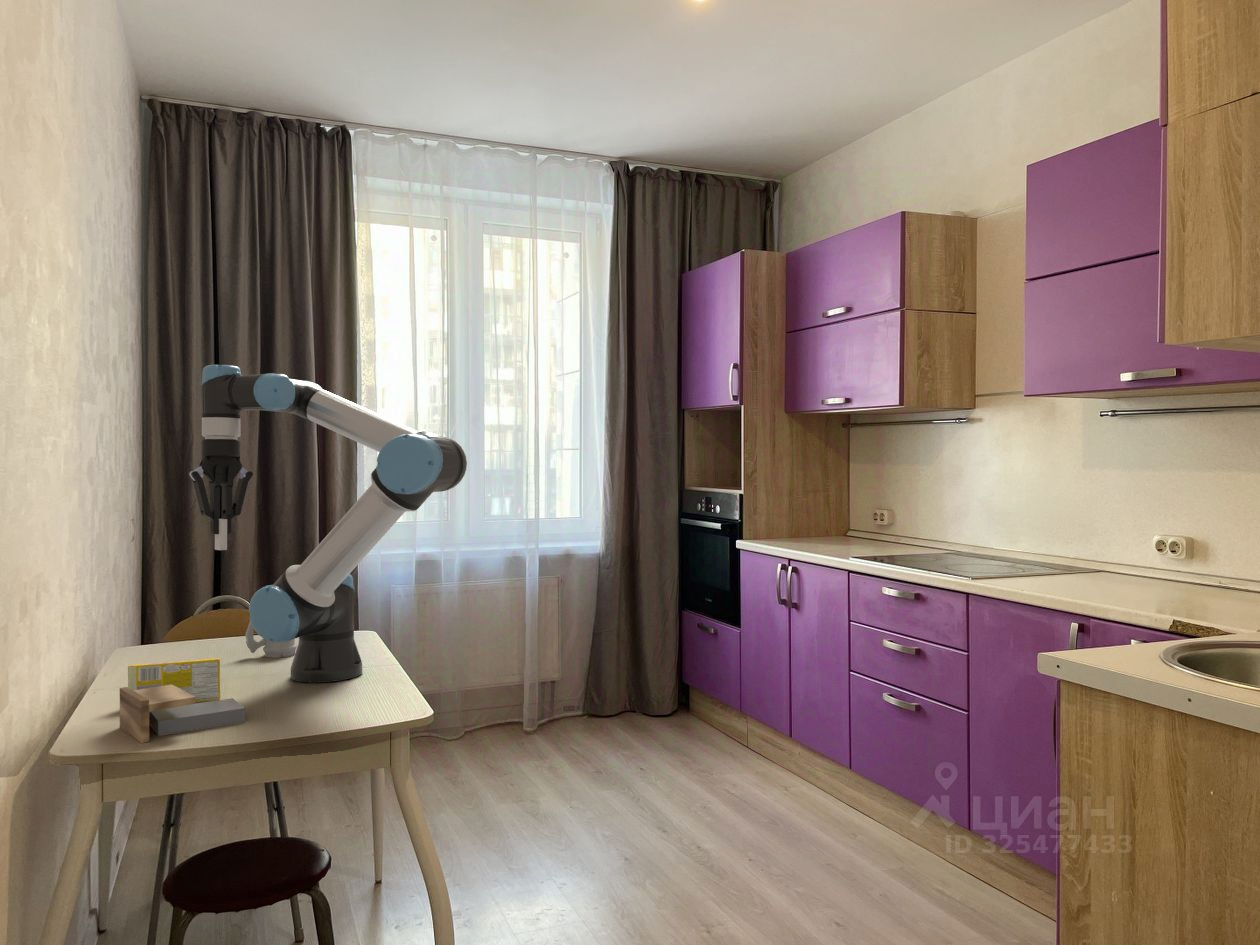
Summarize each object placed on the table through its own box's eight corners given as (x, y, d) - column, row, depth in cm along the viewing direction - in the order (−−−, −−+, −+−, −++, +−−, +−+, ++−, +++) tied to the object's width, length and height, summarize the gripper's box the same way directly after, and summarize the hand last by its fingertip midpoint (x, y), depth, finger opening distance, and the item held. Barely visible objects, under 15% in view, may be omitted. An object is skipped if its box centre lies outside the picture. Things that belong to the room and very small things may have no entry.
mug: (299, 655, 223) (299, 607, 223) (247, 661, 217) (247, 611, 217) (293, 650, 229) (293, 603, 229) (243, 655, 223) (243, 607, 223)
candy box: (220, 698, 181) (220, 657, 181) (220, 701, 179) (219, 659, 179) (129, 706, 175) (129, 663, 175) (127, 709, 173) (127, 666, 173)
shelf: (172, 718, 166) (171, 680, 166) (195, 732, 156) (195, 692, 156) (119, 727, 160) (119, 688, 160) (141, 743, 151) (141, 701, 151)
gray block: (232, 714, 170) (232, 698, 170) (244, 724, 163) (244, 707, 163) (149, 727, 162) (149, 710, 162) (158, 738, 155) (158, 721, 155)
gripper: (244, 439, 199) (243, 546, 199) (182, 438, 189) (181, 550, 189) (259, 439, 194) (258, 548, 194) (196, 437, 184) (196, 552, 184)
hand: (220, 549), depth 192 cm, fingers closed
